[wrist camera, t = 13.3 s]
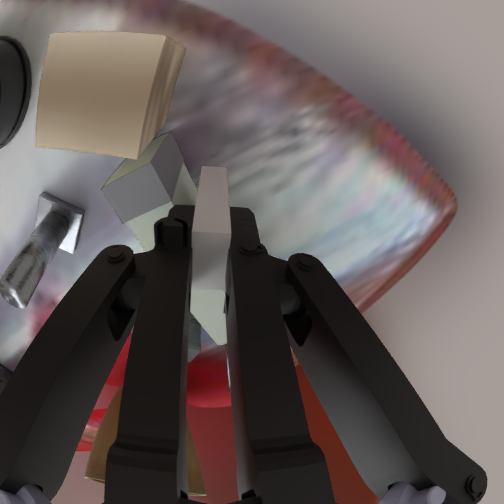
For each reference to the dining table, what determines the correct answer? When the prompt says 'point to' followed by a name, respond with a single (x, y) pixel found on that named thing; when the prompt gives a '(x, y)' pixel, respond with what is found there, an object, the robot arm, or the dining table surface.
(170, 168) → the gate
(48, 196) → the post
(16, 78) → the french press
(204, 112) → the dining table surface
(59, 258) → the dining table surface
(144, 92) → the block
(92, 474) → the plant pot
